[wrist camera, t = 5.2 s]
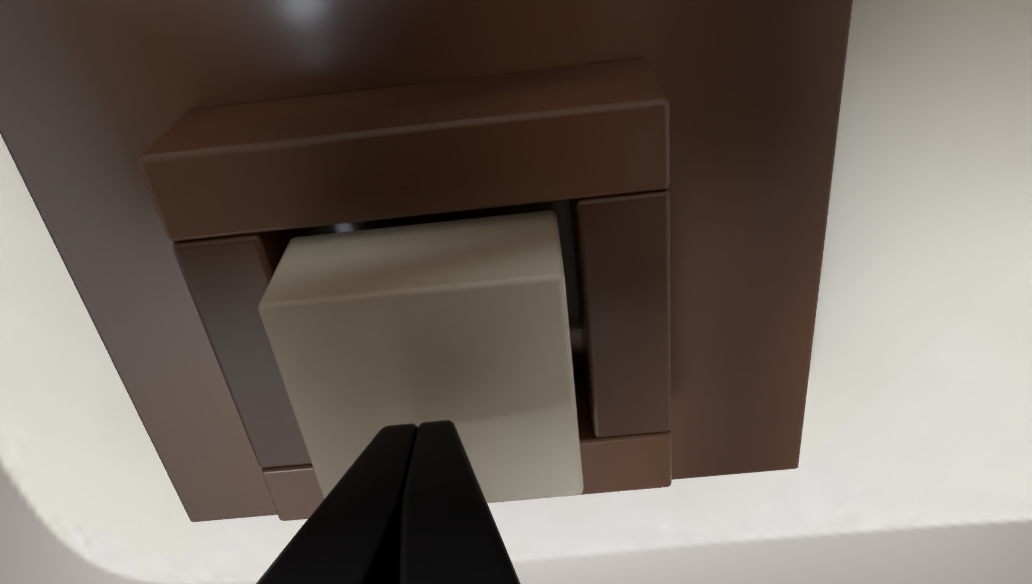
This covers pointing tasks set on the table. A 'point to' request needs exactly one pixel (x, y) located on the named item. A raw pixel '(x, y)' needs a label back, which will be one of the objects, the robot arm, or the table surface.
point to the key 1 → (433, 346)
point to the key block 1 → (440, 201)
